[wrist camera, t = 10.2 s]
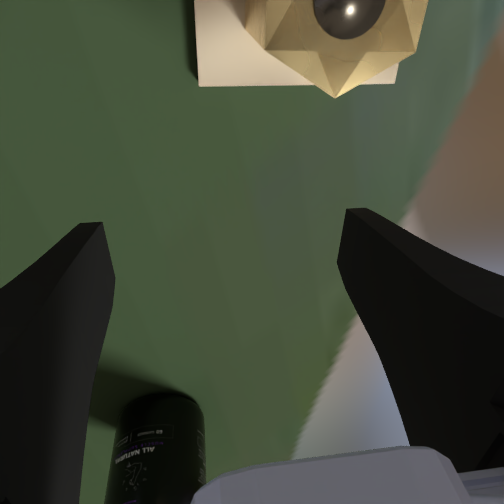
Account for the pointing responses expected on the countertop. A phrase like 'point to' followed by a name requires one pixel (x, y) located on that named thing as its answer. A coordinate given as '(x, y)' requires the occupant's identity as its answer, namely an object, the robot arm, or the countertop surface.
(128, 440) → the supplement bottle
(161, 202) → the countertop surface
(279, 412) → the countertop surface
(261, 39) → the brass nut
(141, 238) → the countertop surface
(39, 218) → the countertop surface
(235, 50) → the oak pad
